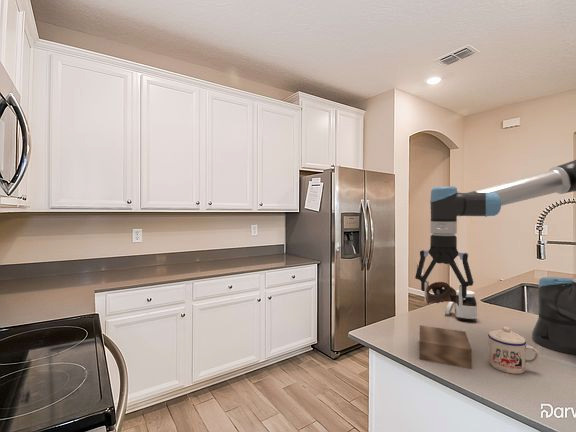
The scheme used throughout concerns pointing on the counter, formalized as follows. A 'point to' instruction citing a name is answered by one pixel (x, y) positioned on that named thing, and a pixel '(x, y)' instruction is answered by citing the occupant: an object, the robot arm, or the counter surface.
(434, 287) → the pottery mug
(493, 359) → the teacup with lid
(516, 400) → the counter surface
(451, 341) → the walnut block
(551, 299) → the robot arm
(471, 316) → the spread jar
